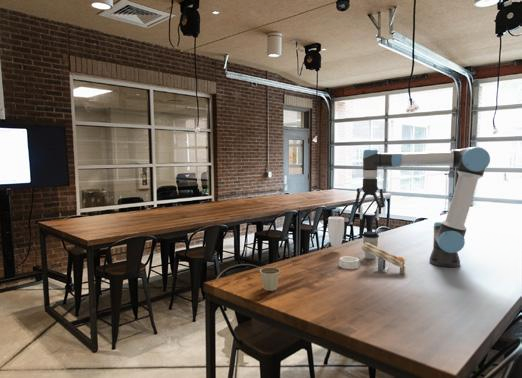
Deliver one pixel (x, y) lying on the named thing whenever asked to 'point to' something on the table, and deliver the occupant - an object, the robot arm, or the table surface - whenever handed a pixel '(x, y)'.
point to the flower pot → (270, 278)
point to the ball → (400, 259)
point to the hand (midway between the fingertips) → (369, 219)
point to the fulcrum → (385, 267)
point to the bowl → (349, 262)
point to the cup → (336, 231)
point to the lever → (382, 254)
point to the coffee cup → (370, 242)
